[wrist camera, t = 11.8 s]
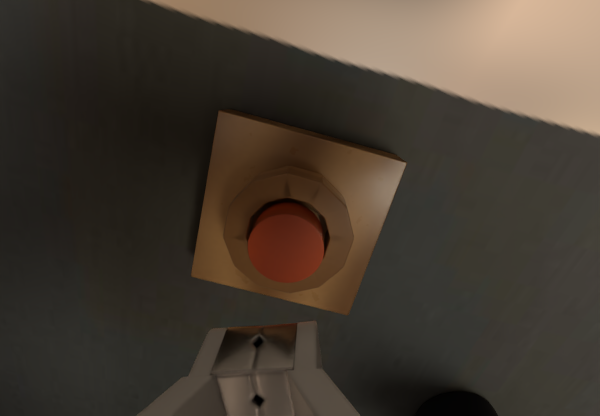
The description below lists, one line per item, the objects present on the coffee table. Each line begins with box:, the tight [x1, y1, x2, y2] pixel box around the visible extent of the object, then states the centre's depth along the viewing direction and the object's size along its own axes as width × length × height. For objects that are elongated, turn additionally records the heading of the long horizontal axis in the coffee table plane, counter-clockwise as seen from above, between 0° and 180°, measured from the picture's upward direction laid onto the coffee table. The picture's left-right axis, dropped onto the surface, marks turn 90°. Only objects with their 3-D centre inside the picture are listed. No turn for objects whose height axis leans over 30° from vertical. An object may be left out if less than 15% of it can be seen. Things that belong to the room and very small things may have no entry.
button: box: [248, 202, 324, 283], centre depth 15 cm, size 4×4×2 cm
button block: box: [191, 109, 407, 315], centre depth 18 cm, size 10×10×4 cm
